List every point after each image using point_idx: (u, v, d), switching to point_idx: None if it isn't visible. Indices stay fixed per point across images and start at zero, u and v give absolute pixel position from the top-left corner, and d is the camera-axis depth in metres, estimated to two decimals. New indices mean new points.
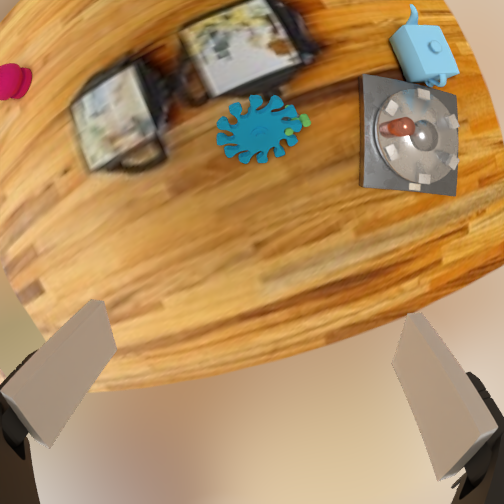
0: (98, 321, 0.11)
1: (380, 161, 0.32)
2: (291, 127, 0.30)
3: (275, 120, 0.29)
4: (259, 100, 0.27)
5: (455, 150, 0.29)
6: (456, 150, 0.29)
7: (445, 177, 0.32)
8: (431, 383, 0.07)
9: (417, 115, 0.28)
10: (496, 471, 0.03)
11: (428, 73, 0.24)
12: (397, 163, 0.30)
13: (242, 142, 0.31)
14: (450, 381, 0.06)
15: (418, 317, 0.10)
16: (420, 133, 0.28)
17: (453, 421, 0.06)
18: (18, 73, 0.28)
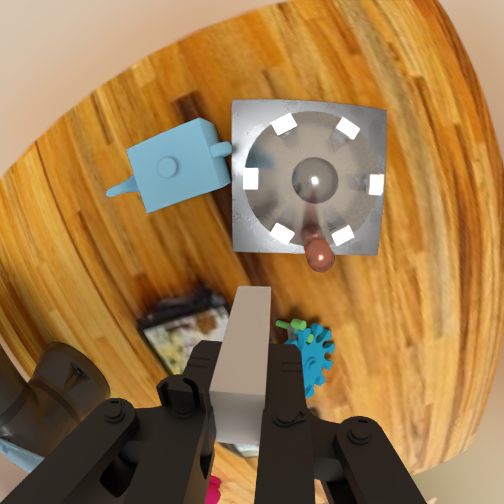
0: None
1: None
2: (306, 339, 0.30)
3: None
4: None
5: (326, 117, 0.22)
6: (326, 115, 0.22)
7: (363, 128, 0.24)
8: None
9: (284, 186, 0.25)
10: (261, 458, 0.05)
11: (218, 181, 0.22)
12: (355, 221, 0.25)
13: (314, 376, 0.32)
14: (245, 342, 0.09)
15: (263, 290, 0.13)
16: (313, 190, 0.24)
17: None
18: None
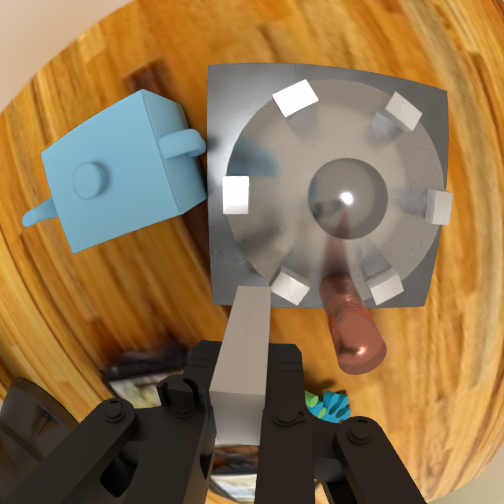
0: None
1: None
2: (316, 415, 0.20)
3: None
4: None
5: (366, 91, 0.12)
6: (366, 88, 0.12)
7: None
8: None
9: (295, 207, 0.14)
10: (261, 458, 0.05)
11: (174, 203, 0.12)
12: (405, 264, 0.15)
13: None
14: (245, 342, 0.09)
15: (263, 290, 0.13)
16: (346, 216, 0.13)
17: None
18: None
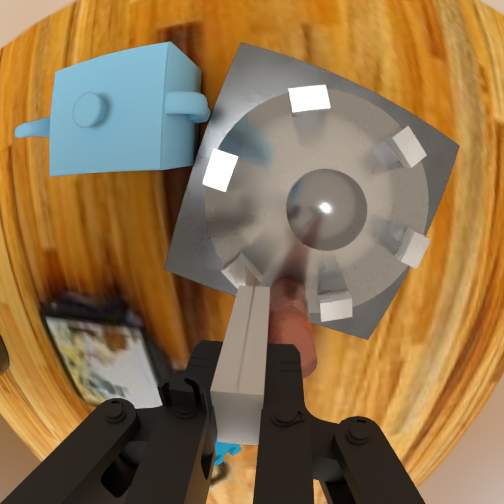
0: None
1: None
2: None
3: None
4: None
5: (380, 116, 0.12)
6: (381, 114, 0.12)
7: None
8: None
9: (273, 201, 0.14)
10: (260, 458, 0.05)
11: (159, 157, 0.11)
12: (361, 291, 0.16)
13: (228, 447, 0.22)
14: (243, 342, 0.09)
15: (261, 290, 0.13)
16: (319, 225, 0.14)
17: None
18: None
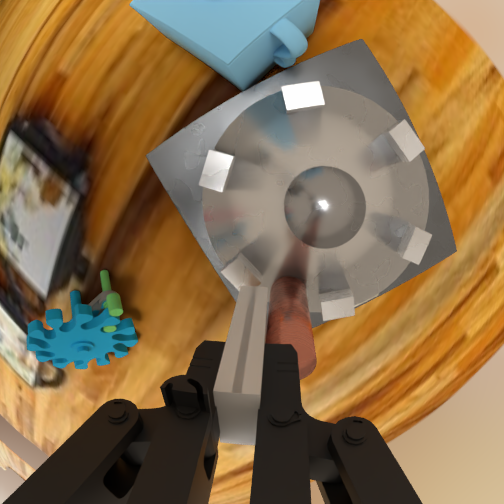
0: None
1: None
2: (104, 325, 0.18)
3: (77, 332, 0.17)
4: (35, 331, 0.15)
5: (376, 111, 0.12)
6: (377, 108, 0.12)
7: None
8: None
9: (270, 200, 0.14)
10: (257, 458, 0.05)
11: (235, 55, 0.10)
12: (363, 289, 0.15)
13: (78, 358, 0.20)
14: (240, 342, 0.09)
15: (259, 290, 0.13)
16: (317, 223, 0.13)
17: None
18: None
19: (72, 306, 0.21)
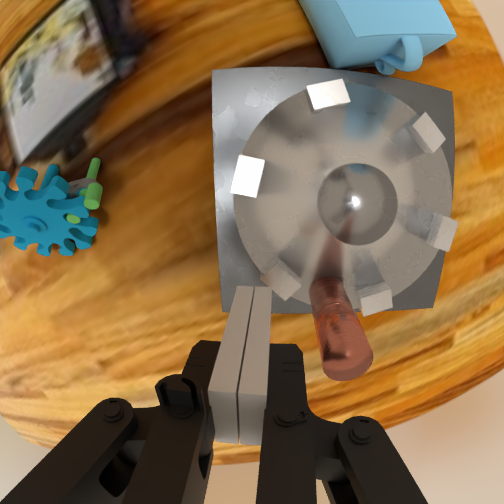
0: None
1: None
2: (71, 212, 0.15)
3: (40, 206, 0.14)
4: None
5: (397, 105, 0.12)
6: (397, 102, 0.12)
7: None
8: None
9: (304, 201, 0.14)
10: (263, 458, 0.05)
11: (365, 35, 0.09)
12: (398, 281, 0.15)
13: (22, 234, 0.16)
14: (246, 342, 0.09)
15: (263, 290, 0.13)
16: (353, 220, 0.13)
17: None
18: None
19: (45, 179, 0.17)
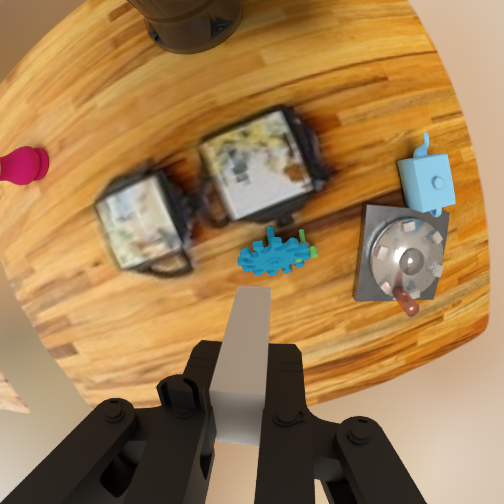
0: None
1: (371, 280, 0.41)
2: (301, 258, 0.39)
3: (289, 254, 0.38)
4: (279, 243, 0.35)
5: (428, 226, 0.36)
6: (428, 225, 0.36)
7: None
8: None
9: (395, 260, 0.38)
10: (261, 458, 0.05)
11: (425, 211, 0.33)
12: (421, 287, 0.39)
13: (258, 265, 0.40)
14: (245, 342, 0.09)
15: (263, 290, 0.13)
16: (410, 267, 0.37)
17: None
18: (35, 161, 0.37)
19: (271, 235, 0.41)
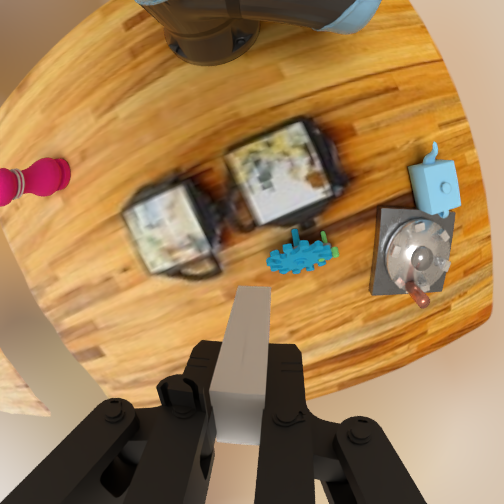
0: None
1: (386, 276, 0.44)
2: (324, 258, 0.42)
3: (314, 255, 0.41)
4: (307, 246, 0.38)
5: (436, 226, 0.39)
6: (436, 225, 0.39)
7: None
8: None
9: (407, 257, 0.41)
10: (262, 458, 0.05)
11: (434, 213, 0.36)
12: (431, 281, 0.42)
13: (285, 264, 0.43)
14: (245, 342, 0.09)
15: (263, 290, 0.13)
16: (421, 264, 0.40)
17: None
18: (58, 172, 0.40)
19: (296, 237, 0.44)
